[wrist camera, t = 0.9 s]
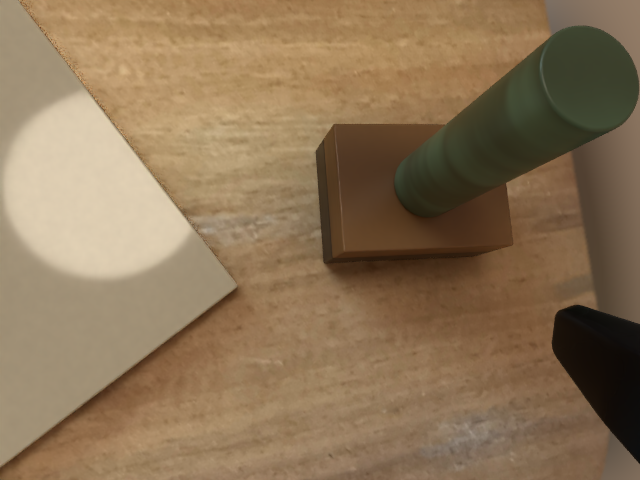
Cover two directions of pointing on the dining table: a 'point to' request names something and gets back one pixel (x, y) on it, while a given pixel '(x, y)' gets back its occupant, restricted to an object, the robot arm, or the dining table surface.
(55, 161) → the tile
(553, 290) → the dining table surface
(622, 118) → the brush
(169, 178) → the dining table surface
